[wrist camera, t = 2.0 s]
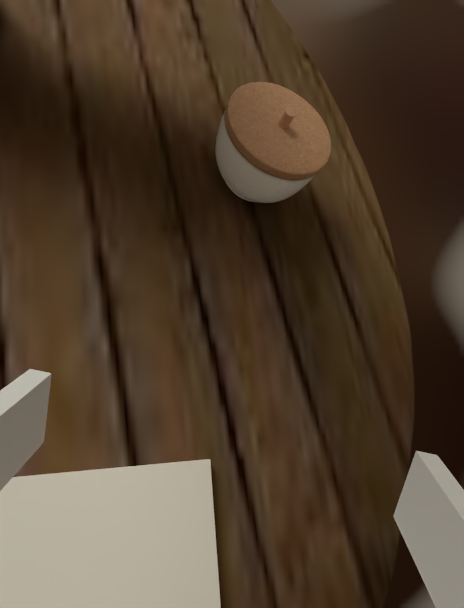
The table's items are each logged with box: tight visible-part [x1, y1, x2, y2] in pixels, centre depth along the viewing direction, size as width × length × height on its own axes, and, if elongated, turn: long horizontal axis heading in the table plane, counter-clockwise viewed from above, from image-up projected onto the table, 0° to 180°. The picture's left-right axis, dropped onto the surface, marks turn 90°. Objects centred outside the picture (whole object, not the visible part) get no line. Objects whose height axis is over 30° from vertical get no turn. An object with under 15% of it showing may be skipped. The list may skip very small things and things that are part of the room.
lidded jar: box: [215, 82, 331, 203], centre depth 41 cm, size 11×11×9 cm
